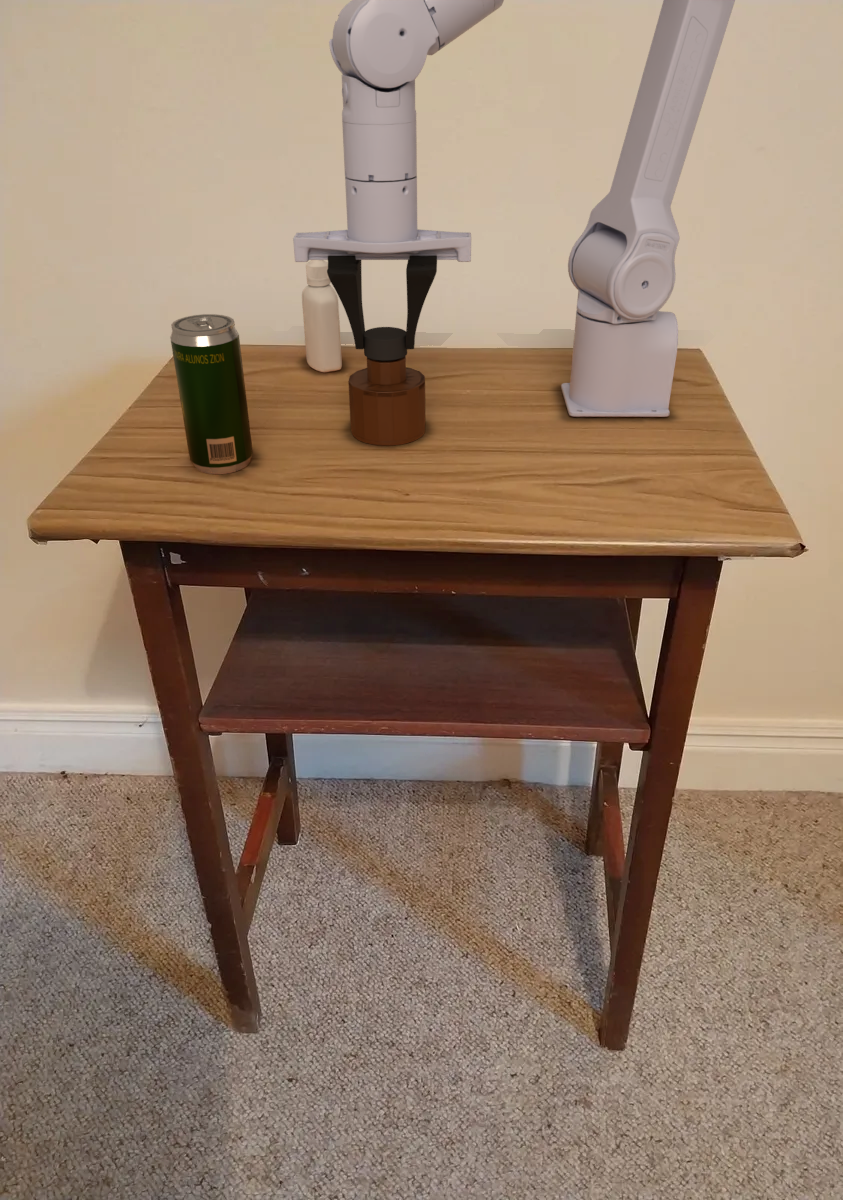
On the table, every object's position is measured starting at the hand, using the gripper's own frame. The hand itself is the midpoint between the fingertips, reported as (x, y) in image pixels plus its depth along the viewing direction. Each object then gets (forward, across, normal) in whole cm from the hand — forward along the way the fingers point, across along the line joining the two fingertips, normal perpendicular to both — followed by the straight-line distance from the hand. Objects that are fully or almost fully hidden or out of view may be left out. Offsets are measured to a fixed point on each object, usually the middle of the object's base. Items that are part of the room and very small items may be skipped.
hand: (385, 345), depth 79 cm
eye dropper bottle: (+8, +8, -18) cm, 21 cm away
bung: (+2, 0, 0) cm, 2 cm away
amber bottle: (+8, 0, 0) cm, 8 cm away
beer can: (+8, +14, +7) cm, 18 cm away
